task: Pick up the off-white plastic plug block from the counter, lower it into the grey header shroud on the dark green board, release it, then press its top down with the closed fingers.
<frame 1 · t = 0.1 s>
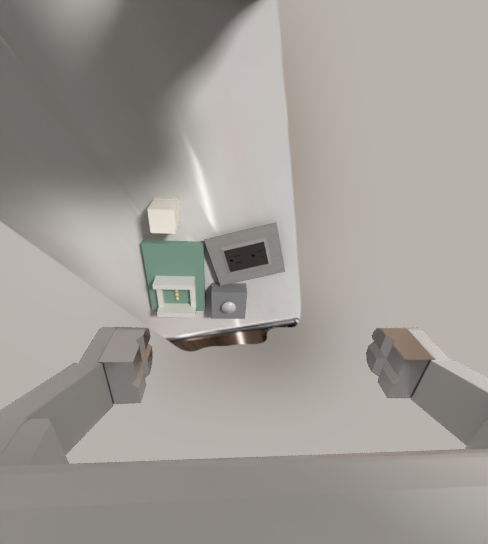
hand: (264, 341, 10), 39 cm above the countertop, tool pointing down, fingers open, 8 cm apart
grey push button: (228, 296, 59), on the countertop
electrical outlet: (245, 250, 53), on the countertop
plug: (167, 209, 47), on the countertop
board: (176, 276, 55), on the countertop
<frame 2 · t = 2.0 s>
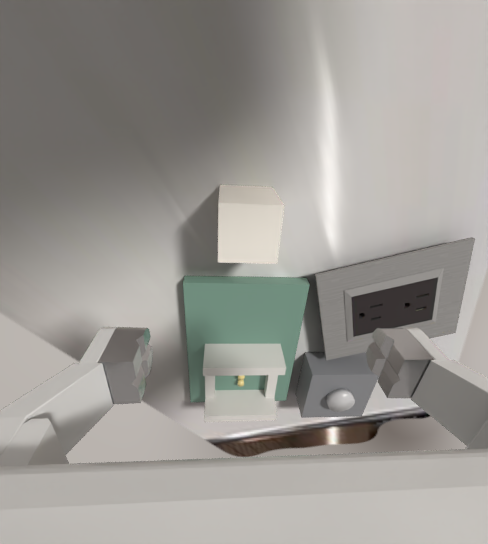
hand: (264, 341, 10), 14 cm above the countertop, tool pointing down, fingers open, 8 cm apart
grey push button: (329, 374, 32), on the countertop
electrical outlet: (379, 293, 27), on the countertop
plug: (244, 211, 22), on the countertop
board: (242, 342, 29), on the countertop
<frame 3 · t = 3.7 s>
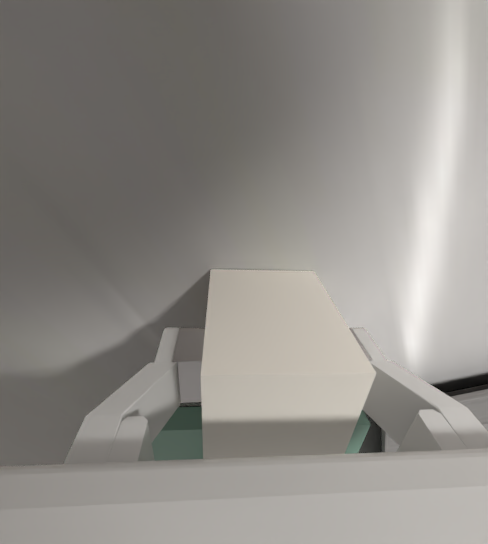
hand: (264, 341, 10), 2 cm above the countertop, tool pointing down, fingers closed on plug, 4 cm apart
electrical outlet: (471, 411, 17), on the countertop
plug: (259, 312, 11), on the countertop, touching gripper
board: (249, 483, 18), on the countertop
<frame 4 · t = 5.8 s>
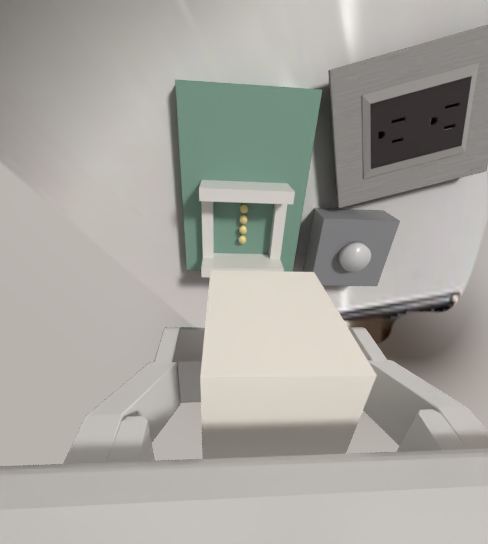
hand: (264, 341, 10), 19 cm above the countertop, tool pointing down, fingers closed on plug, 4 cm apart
grey push button: (341, 242, 29), on the countertop
electrical outlet: (400, 124, 24), on the countertop
plug: (259, 313, 11), point 17 cm above the countertop, touching gripper
board: (243, 189, 25), on the countertop
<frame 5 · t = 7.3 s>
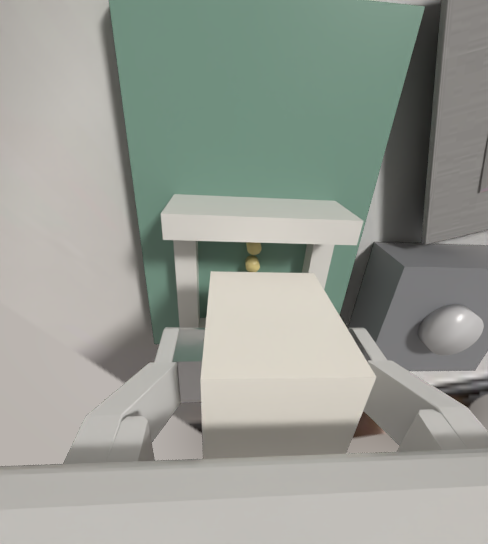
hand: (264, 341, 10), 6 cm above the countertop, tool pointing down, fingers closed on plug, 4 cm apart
grey push button: (411, 294, 17), on the countertop
plug: (259, 314, 11), point 5 cm above the countertop, touching gripper
board: (252, 211, 14), on the countertop
when the fingers open (4 cm above the countertop, at t = 8.1 s): plug stays where it is, resting on board.
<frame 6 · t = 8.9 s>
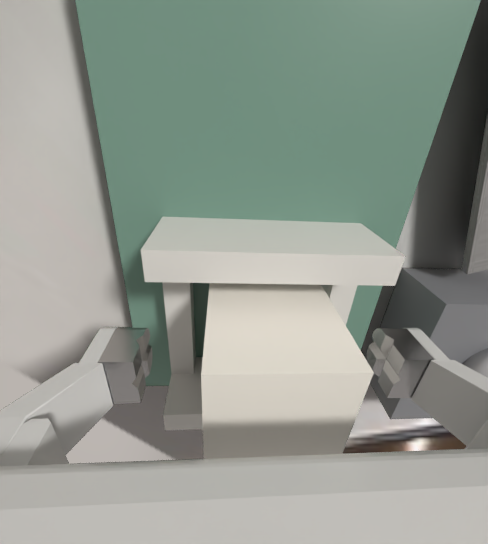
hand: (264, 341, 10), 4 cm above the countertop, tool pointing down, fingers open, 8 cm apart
grey push button: (441, 325, 15), on the countertop
plug: (258, 312, 12), point 2 cm above the countertop, touching board
board: (258, 233, 12), on the countertop
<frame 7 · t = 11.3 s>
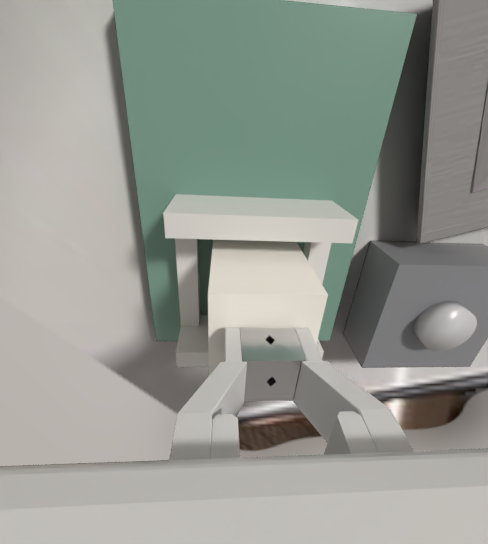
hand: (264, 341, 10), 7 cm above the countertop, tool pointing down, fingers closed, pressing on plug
grey push button: (407, 292, 18), on the countertop
plug: (251, 273, 14), point 2 cm above the countertop, touching board, gripper
board: (252, 210, 15), on the countertop
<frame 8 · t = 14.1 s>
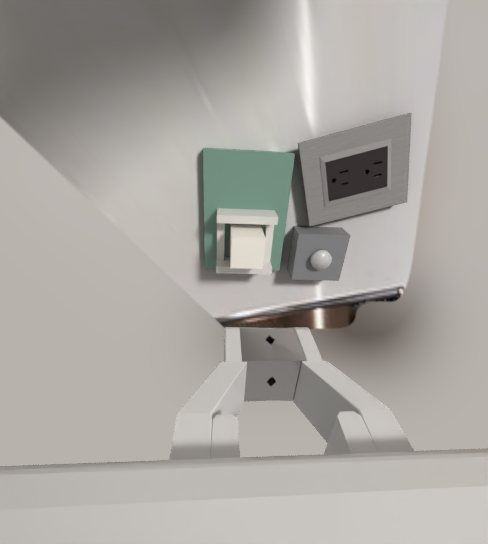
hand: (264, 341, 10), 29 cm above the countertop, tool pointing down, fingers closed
grey push button: (313, 249, 41), on the countertop
electrical outlet: (349, 171, 36), on the countertop
plug: (244, 238, 37), point 2 cm above the countertop, touching board
board: (245, 214, 37), on the countertop
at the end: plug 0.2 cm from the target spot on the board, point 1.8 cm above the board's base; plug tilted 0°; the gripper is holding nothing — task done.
